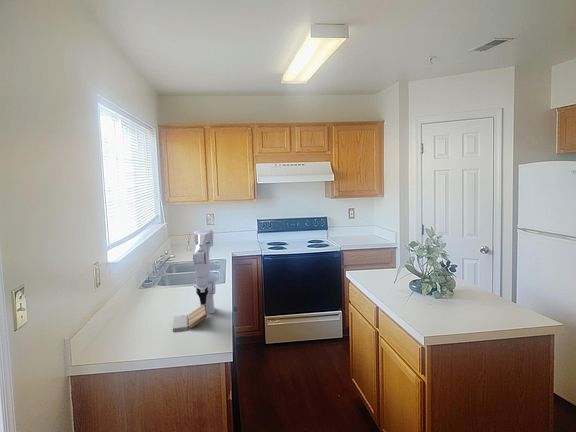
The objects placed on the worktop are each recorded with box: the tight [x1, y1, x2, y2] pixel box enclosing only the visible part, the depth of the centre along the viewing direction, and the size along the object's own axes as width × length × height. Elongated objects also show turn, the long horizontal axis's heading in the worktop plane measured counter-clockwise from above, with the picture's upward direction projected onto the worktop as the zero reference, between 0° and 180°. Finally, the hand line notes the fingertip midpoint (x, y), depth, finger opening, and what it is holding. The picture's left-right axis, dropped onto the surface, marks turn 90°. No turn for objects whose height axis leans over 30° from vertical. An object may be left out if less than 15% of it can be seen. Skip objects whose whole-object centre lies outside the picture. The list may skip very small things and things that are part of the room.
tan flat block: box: [188, 304, 208, 329], centre depth 212 cm, size 18×10×2 cm
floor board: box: [172, 314, 189, 332], centre depth 211 cm, size 18×7×2 cm, turn 13°
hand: (203, 303), depth 212 cm, fingers open, 4 cm apart
